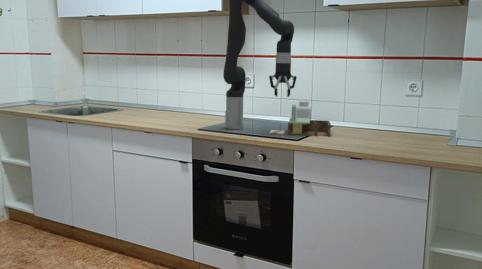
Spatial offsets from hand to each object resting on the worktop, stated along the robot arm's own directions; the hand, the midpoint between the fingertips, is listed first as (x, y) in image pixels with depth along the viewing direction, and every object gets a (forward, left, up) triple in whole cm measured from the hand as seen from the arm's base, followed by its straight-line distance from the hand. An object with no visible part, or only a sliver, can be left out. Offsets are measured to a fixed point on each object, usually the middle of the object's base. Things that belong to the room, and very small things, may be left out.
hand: (282, 96), depth 225 cm
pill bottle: (+11, +20, -20) cm, 30 cm away
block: (+8, 0, -18) cm, 20 cm away
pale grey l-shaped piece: (+9, 0, -12) cm, 15 cm away
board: (+9, 0, -19) cm, 21 cm away
